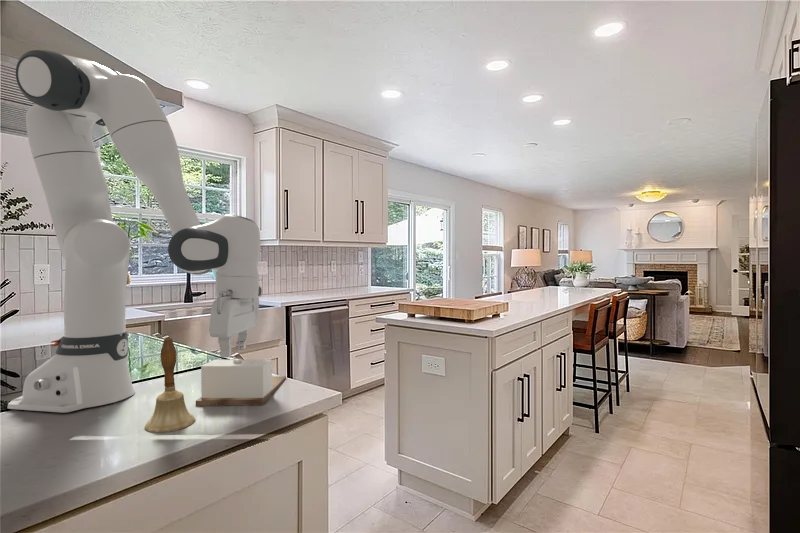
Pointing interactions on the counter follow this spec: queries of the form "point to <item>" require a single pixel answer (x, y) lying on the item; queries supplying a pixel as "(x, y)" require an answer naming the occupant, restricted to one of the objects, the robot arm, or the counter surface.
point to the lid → (236, 378)
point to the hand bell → (169, 398)
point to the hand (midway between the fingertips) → (233, 352)
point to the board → (242, 401)
